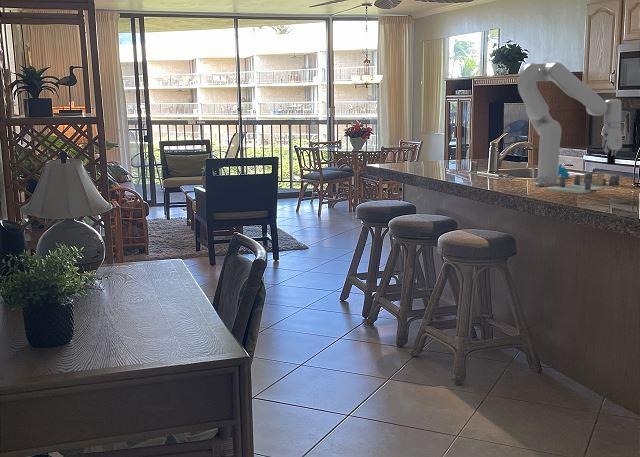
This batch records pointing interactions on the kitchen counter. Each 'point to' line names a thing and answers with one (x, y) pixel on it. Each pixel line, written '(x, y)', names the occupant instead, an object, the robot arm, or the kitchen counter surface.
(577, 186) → the spacer board
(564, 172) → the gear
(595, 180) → the nut
